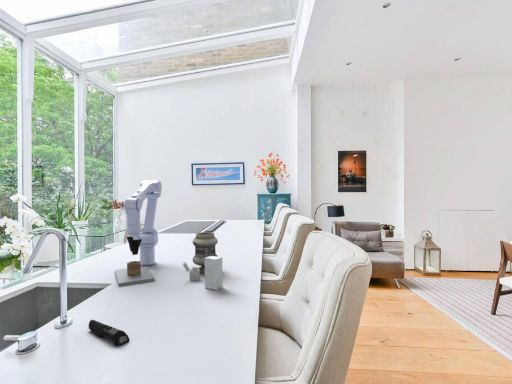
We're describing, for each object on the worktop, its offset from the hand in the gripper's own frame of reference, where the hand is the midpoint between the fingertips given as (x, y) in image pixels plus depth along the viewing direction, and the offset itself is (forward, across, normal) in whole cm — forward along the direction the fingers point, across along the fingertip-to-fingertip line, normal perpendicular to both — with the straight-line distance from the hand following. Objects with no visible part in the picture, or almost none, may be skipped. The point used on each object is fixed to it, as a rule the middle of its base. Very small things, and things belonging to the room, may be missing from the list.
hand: (133, 252), depth 138 cm
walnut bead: (+8, -6, +1) cm, 10 cm away
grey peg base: (+9, -6, +1) cm, 11 cm away
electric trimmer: (+9, -60, +14) cm, 62 cm away
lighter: (+9, -23, -20) cm, 32 cm away
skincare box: (+9, -37, -25) cm, 46 cm away
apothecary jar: (+10, -13, -30) cm, 34 cm away
